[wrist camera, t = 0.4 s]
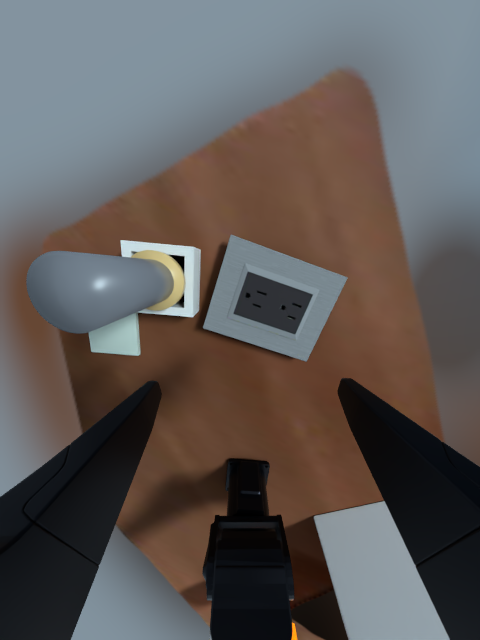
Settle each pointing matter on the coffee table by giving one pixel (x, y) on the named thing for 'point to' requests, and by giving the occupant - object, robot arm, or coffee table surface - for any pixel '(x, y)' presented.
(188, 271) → the frame
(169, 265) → the grey tapered rounded cylinder
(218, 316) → the electrical outlet
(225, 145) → the coffee table surface
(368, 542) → the gable box
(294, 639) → the orange juice
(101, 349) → the rubber pad
